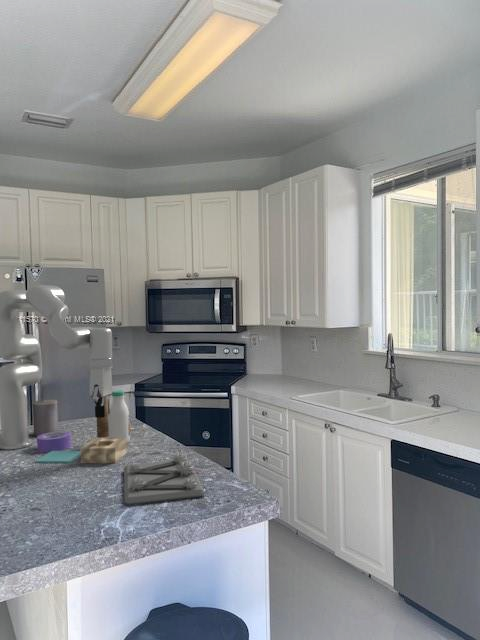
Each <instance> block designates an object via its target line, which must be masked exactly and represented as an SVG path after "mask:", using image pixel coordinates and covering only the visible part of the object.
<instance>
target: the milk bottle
mask: <svg viewBox="0 0 480 640" xmlns="http://www.w3.org/2000/svg"><path fill="white" fill-rule="evenodd" d="M111 397H112V402H111V405H110V406H109V408H110V414H108V417H109V436H108V439H126V443H127V444H129V443H130V441H131V438H130V437H131V435H130V434H131V433H130V412H129V408H128V405H127V404H126V401H125V391H124V390H112V392H111Z"/></svg>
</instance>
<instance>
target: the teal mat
mask: <svg viewBox="0 0 480 640" xmlns="http://www.w3.org/2000/svg"><path fill="white" fill-rule="evenodd" d="M78 457H81V450H62V451H51V452H47V453H46V454H44V455H43V456H41V457H40V458H38V459H37V460H35V463H36V464H70V463H71V462H73V461H74V460H75V459H77V458H78Z"/></svg>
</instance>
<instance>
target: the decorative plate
mask: <svg viewBox="0 0 480 640" xmlns="http://www.w3.org/2000/svg"><path fill="white" fill-rule="evenodd" d="M186 456H187V454H186V453H184V454H183V451H179V452H175V454H174V455H173V456H171V459H173V460H164V461H154V462H144V463H141V462H140V463H138V461H137V462H136V461H134V462H132V461H131V462H132V463H130V464H126V466H124V468H123V483H124V492H123V493H124V503H125V504H126V505H127V506H133V505H142V504H149V503H150V504H151V503H160V502H168V501H169V500H170V501H176V500H188V499H194V498H195V499H196V498H203V497H204V495H205V494H206V492H205V489H204V487H203V485H202V482H201V480H200V478H199V476H198V474H197V472H196V468H195V466H194V465H193V464H194V463H193V462H192V461H193V460H189V457H186ZM170 501H169V502H170Z"/></svg>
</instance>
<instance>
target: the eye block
mask: <svg viewBox="0 0 480 640" xmlns="http://www.w3.org/2000/svg"><path fill="white" fill-rule="evenodd" d="M127 444H128V443H126V439H109V438H93V439H91V440H90V441H88V442H87V443H86V444H85V445H83V446H81V448H80V451H81V455H80V464H116V463H118V461H119V460H120V459H122V458H123V457H124V456H125V455H126V454H127V453H128V446H127Z"/></svg>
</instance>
